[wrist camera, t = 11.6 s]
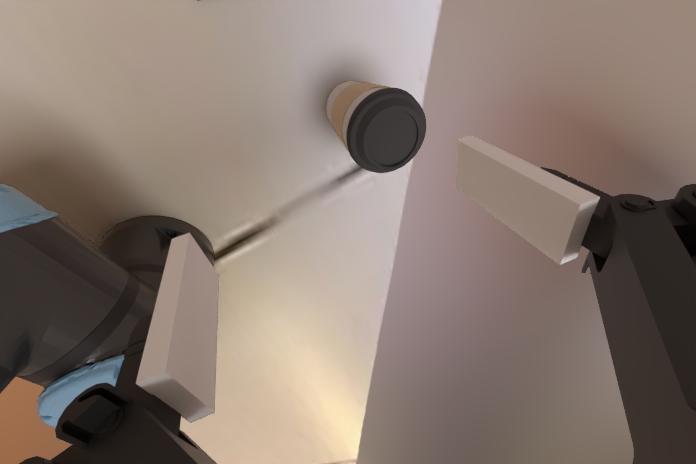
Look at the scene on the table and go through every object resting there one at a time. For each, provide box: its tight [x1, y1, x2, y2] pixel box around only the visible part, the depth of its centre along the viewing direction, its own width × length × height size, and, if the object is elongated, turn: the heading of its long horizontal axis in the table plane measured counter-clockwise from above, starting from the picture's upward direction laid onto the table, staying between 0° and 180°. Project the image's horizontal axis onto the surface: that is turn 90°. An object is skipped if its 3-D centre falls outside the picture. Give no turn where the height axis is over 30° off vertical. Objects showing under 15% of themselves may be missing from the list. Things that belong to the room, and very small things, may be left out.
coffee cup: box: [326, 81, 426, 173], centre depth 37 cm, size 9×9×15 cm
